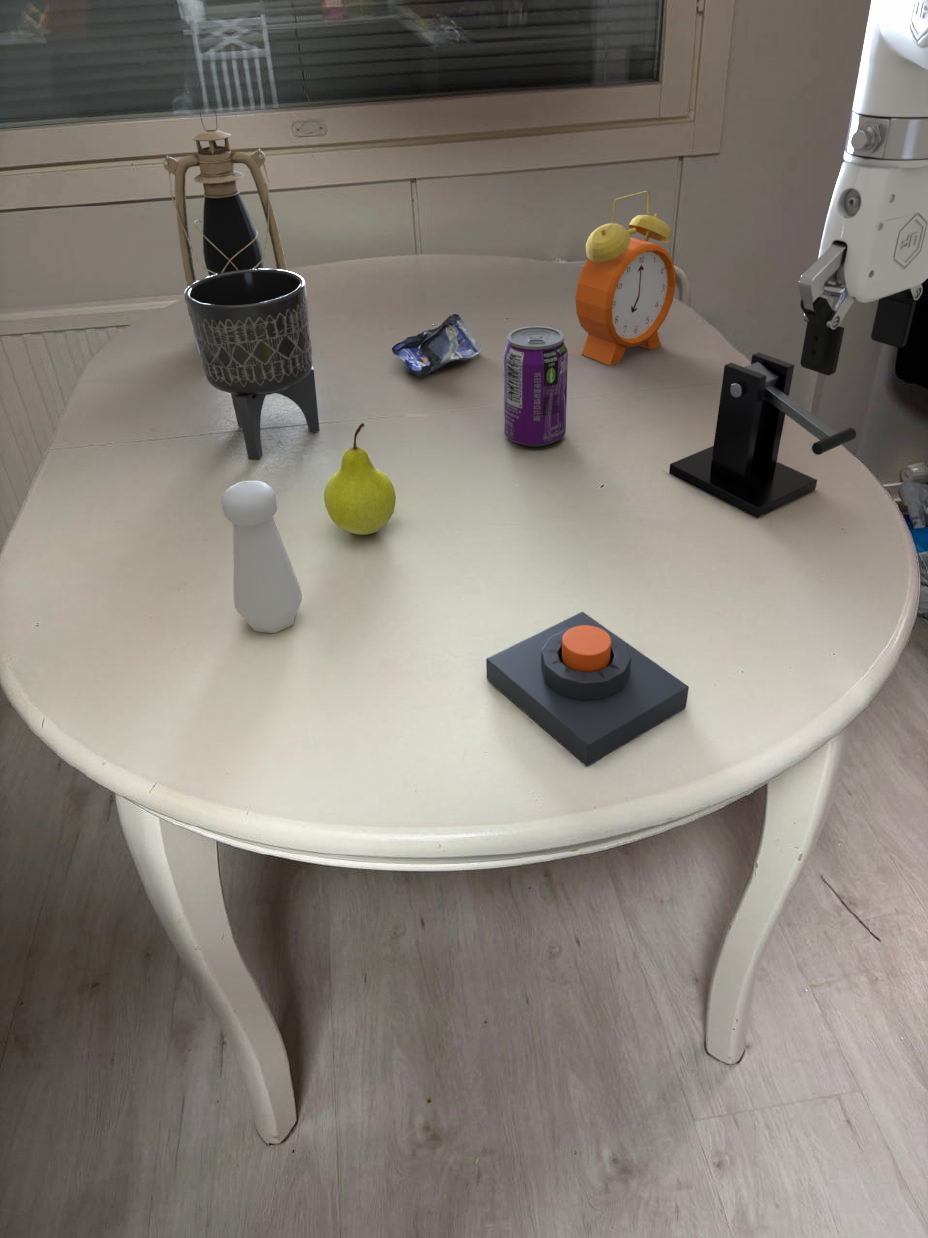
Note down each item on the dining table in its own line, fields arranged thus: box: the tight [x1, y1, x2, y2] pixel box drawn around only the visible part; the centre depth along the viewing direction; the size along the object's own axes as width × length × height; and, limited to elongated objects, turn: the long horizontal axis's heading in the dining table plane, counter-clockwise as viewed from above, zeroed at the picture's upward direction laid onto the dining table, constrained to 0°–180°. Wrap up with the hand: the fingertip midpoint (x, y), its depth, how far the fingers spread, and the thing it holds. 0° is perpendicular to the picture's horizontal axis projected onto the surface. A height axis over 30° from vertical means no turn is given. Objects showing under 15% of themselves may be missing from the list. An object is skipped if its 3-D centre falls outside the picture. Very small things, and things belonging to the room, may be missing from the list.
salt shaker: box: [221, 480, 303, 634], centre depth 77 cm, size 6×6×13 cm
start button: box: [562, 625, 611, 673], centre depth 69 cm, size 4×4×2 cm
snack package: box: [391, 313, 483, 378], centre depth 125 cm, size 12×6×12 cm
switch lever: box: [744, 362, 857, 456], centre depth 88 cm, size 12×5×2 cm, turn 35°
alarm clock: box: [574, 190, 677, 366], centre depth 122 cm, size 13×6×20 cm, turn 129°
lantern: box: [162, 106, 288, 288], centre depth 130 cm, size 14×12×30 cm
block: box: [485, 611, 690, 767], centre depth 71 cm, size 12×10×4 cm
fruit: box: [323, 422, 397, 536], centre depth 89 cm, size 7×7×12 cm
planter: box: [183, 268, 320, 461], centre depth 105 cm, size 13×13×18 cm
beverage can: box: [502, 325, 569, 448], centre depth 104 cm, size 7×7×12 cm
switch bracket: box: [668, 352, 818, 519], centre depth 93 cm, size 12×9×13 cm
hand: (853, 356), depth 81 cm, fingers open, 9 cm apart
